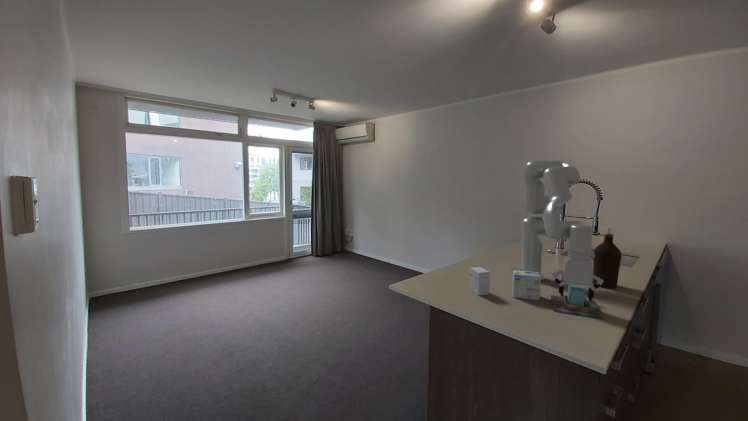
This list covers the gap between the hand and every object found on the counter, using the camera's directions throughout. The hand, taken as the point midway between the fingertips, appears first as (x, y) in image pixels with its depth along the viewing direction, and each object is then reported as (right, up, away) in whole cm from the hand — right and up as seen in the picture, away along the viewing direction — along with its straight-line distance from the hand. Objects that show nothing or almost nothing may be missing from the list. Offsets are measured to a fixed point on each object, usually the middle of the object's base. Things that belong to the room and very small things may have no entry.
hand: (575, 296), depth 125 cm
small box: (-33, -3, +17) cm, 37 cm away
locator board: (0, -4, 0) cm, 4 cm away
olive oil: (+30, -1, +25) cm, 39 cm away
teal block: (0, -3, 0) cm, 3 cm away
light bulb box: (-15, -3, +11) cm, 19 cm away
